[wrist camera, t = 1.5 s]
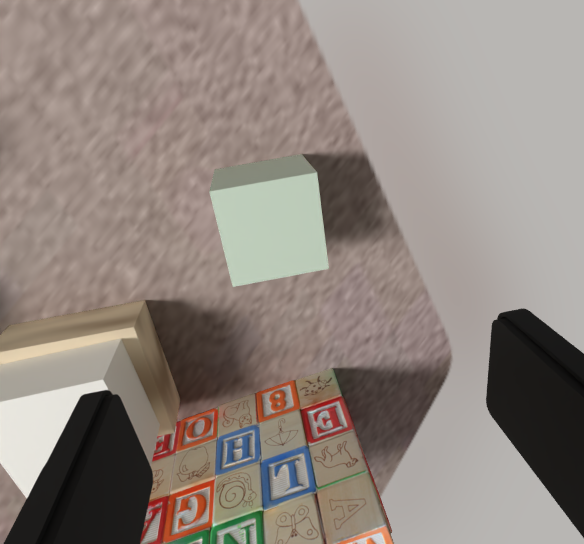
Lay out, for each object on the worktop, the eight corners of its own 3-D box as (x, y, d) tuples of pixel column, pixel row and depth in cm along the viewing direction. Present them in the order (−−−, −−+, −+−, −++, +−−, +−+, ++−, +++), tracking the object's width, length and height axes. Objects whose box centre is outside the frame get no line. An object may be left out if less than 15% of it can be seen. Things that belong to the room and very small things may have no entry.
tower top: (-2, 364, 23) (-39, 410, 20) (121, 338, 23) (103, 379, 20) (52, 448, 26) (27, 499, 23) (159, 424, 26) (149, 471, 23)
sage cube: (214, 169, 23) (209, 191, 18) (301, 153, 23) (317, 172, 19) (233, 249, 25) (232, 286, 21) (312, 234, 25) (328, 268, 21)
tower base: (12, 321, 26) (-19, 355, 23) (146, 296, 26) (133, 326, 23) (65, 418, 30) (44, 458, 26) (181, 395, 30) (174, 432, 27)
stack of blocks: (109, 504, 34) (48, 712, 23) (67, 456, 31) (-27, 667, 20) (354, 421, 33) (414, 594, 22) (334, 364, 30) (390, 530, 19)
